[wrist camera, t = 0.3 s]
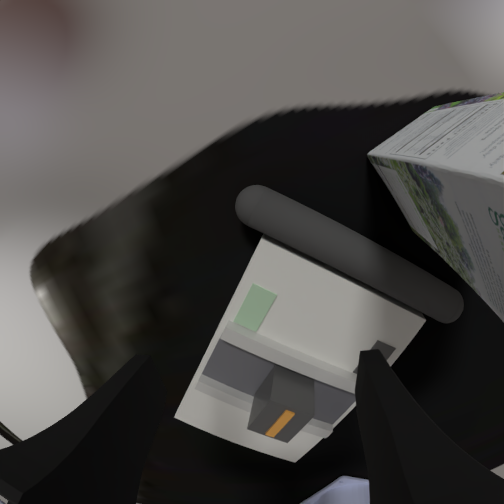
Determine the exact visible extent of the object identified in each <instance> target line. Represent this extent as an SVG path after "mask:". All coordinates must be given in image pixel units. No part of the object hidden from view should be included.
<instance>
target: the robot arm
mask: <svg viewBox="0 0 504 504" xmlns="http://www.w3.org/2000/svg"><path fill="white" fill-rule="evenodd" d="M166 395H167V390H166V388H165V386H164V384H163V382H162V380H161V378H160V376H159V374H158V371H157V369H156V367H155V365H154V363H153V360H152V358H151V356H150V355H135V356H134V357H133V358H131V359H130V360H129V361H128V362H127V363H126V364H125V365H124V366H123V367H122V368H121V369H120V370H118V371H117V372H116V373H115V374H114V375H113V376H112V377H111V378H110V379H109V380H108V381H107V382H106V383H105V384H104V385H102V386H101V387H100V388H99V389H98V390H97V391H96V392H95V393H94V394H92V395H91V396H90V397H89V398H88V399H87V400H85V401H84V402H83V403H82V404H81V405H79V406H78V407H77V408H76V409H75V410H74V411H72V412H71V413H70V414H68V415H67V416H65V417H64V418H62V419H61V420H59V421H58V422H57V423H55V424H53V425H52V426H50V427H48V428H47V429H45V430H43V431H41V432H40V433H38V434H36V435H34V436H33V437H31V438H28V439H27V440H24V441H22V442H20V443H17V444H15V445H12V446H10V447H7V448H4V449H1V450H0V495H1V496H3V497H4V498H5V499H7V500H8V503H7V504H136V500H137V494H138V489H139V484H140V479H141V475H142V471H143V467H144V464H145V461H146V458H147V455H148V453H149V450H150V447H151V445H152V442H153V439H154V436H155V434H156V431H157V428H158V425H159V423H160V420H161V417H162V414H163V409H164V405H165V400H166ZM355 399H356V410H357V418H358V423H359V428H360V433H361V438H362V443H363V448H364V453H365V459H366V464H367V470H368V478H369V480H367V479H361V478H355V477H350V476H341V477H339V478H338V479H336V480H335V481H334V482H332V483H331V484H329V485H328V486H326V487H325V488H323V489H322V490H320V491H319V492H317V493H316V494H314V495H312V496H311V497H309V498H308V499H306V500H304V501H303V502H301V503H300V504H504V479H503V478H501V477H499V476H498V475H496V474H495V473H493V472H492V471H490V470H489V469H487V468H486V467H484V466H483V465H481V464H480V463H479V462H478V461H476V460H475V459H474V458H472V457H471V456H470V455H469V454H467V453H466V452H465V451H464V450H462V449H461V448H460V447H459V446H458V445H457V444H455V443H454V442H453V441H452V440H451V439H450V438H449V437H448V436H447V435H446V434H445V433H444V432H443V431H442V430H441V429H440V428H439V427H438V426H437V425H436V424H435V423H434V422H433V421H432V420H431V418H430V417H429V416H428V415H427V414H426V413H425V412H424V410H423V409H422V408H421V407H420V406H419V404H418V403H417V402H416V401H415V400H414V398H413V397H412V396H411V394H410V393H409V392H408V390H407V389H406V388H405V386H404V385H403V384H402V382H401V381H400V380H399V378H398V377H397V375H396V374H395V372H394V371H393V370H392V368H391V367H390V365H389V364H388V362H387V361H386V359H385V357H384V356H383V354H382V353H381V351H380V350H379V349H373V350H364V351H360V355H359V363H358V370H357V377H356V384H355ZM0 504H5V503H4V502H3V501H1V500H0Z"/></svg>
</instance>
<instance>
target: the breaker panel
mask: <svg viewBox="0 0 504 504" xmlns="http://www.w3.org/2000/svg"><path fill="white" fill-rule="evenodd" d="M425 321H426V319H425V317H424V316H423V314H422V313H421V312H420V311H418V310H416V309H414V308H412V307H410V306H408V305H407V304H405V303H403V302H401V301H399V300H397V299H395V298H393V297H391V296H389V295H387V294H385V293H383V292H381V291H379V290H377V289H375V288H373V287H371V286H369V285H367V284H365V283H363V282H361V281H359V280H357V279H355V278H353V277H351V276H349V275H347V274H345V273H343V272H341V271H339V270H337V269H335V268H333V267H331V266H329V265H327V264H325V263H323V262H321V261H319V260H317V259H315V258H313V257H311V256H309V255H307V254H305V253H303V252H301V251H299V250H297V249H295V248H293V247H291V246H289V245H287V244H284V243H282V242H280V241H278V240H276V239H274V238H272V237H270V236H268V235H266V234H264V233H263V235H262V237H261V240H260V242H259V244H258V246H257V248H256V250H255V252H254V254H253V256H252V258H251V260H250V262H249V264H248V266H247V268H246V270H245V272H244V275H243V277H242V279H241V281H240V283H239V285H238V287H237V289H236V291H235V293H234V295H233V297H232V299H231V301H230V303H229V305H228V307H227V310H226V312H225V314H224V316H223V318H222V320H221V322H220V324H219V326H218V328H217V330H216V332H215V334H214V336H213V338H212V340H211V342H210V344H209V346H208V349H207V351H206V353H205V355H204V357H203V359H202V361H201V363H200V365H199V367H198V369H197V371H196V373H195V375H194V377H193V379H192V381H191V383H190V385H189V387H188V389H187V392H186V394H185V396H184V398H183V400H182V402H181V404H180V406H179V408H178V410H177V412H176V414H175V418H177V419H179V420H181V421H184V422H186V423H188V424H190V425H192V426H195V427H197V428H199V429H202V430H204V431H206V432H209V433H211V434H214V435H216V436H219V437H221V438H224V439H226V440H229V441H231V442H234V443H237V444H239V445H242V446H245V447H248V448H251V449H254V450H256V451H259V452H262V453H266V454H269V455H272V456H275V457H278V458H282V459H285V460H288V461H292V462H296V461H297V460H299V459H300V458H301V457H302V456H303V455H304V454H306V453H307V452H308V451H309V450H310V449H311V448H312V447H314V446H315V445H316V444H317V443H318V442H319V441H320V440H321V439H322V438H327V437H328V436H329V435H330V434H331V433H332V432H333V428H334V427H335V426H336V425H337V424H338V423H339V422H340V421H341V420H342V419H343V418H344V417H345V416H346V415H347V414H348V413H349V412H350V411H351V410H352V409H353V408H354V407H355V406H356V399H355V384H356V377H357V370H358V363H359V355H360V351H364V350H373V349H379V350H380V351H381V353H382V354H383V356H384V357H385V359H386V361H387V362H388V364H389V365H390V367H391V365H392V364H393V363H394V362H395V361H396V359H397V358H398V357H399V356H400V354H401V353H402V352H403V351H404V349H405V348H406V347H407V345H408V344H409V343H410V342H411V340H412V339H413V338H414V336H415V335H416V334H417V332H418V331H419V330H420V328H421V327H422V326H423V324H424V323H425ZM275 364H277V365H279V366H282V367H284V368H287V369H289V370H292V371H294V372H296V373H299V374H301V375H304V376H307V377H309V378H312V379H314V417H313V418H312V419H311V420H310V421H309V422H308V423H307V424H306V425H305V426H304V427H303V428H302V429H301V430H300V431H299V432H298V433H297V434H296V435H295V436H294V437H293V438H292V439H291V440H290V441H289V442H288V443H286V442H282V441H279V440H276V439H273V438H270V437H267V436H265V435H262V434H259V433H256V432H253V431H251V430H248V429H247V426H248V422H249V417H250V413H251V408H252V403H253V399H254V394H255V393H256V391H257V390H258V388H259V387H260V386H261V384H262V383H263V381H264V380H265V378H266V377H267V376H268V374H269V373H270V371H271V370H272V368H273V367H274V365H275Z"/></svg>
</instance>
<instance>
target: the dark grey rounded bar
mask: <svg viewBox="0 0 504 504" xmlns="http://www.w3.org/2000/svg"><path fill="white" fill-rule="evenodd" d="M235 209H236V213H237V216H238V218H239V219H240V220H241V221H242V222H243V223H244V224H246V225H247V226H249V227H251V228H253V229H255V230H258V231H260V232H262V233H264V234H266V235H268V236H270V237H272V238H274V239H276V240H278V241H280V242H282V243H284V244H287V245H289V246H291V247H293V248H295V249H297V250H299V251H301V252H303V253H305V254H307V255H309V256H311V257H313V258H315V259H317V260H319V261H321V262H323V263H325V264H327V265H329V266H331V267H333V268H335V269H337V270H339V271H341V272H343V273H345V274H347V275H349V276H351V277H353V278H355V279H357V280H359V281H361V282H363V283H365V284H367V285H369V286H371V287H373V288H375V289H377V290H379V291H381V292H383V293H385V294H387V295H389V296H391V297H393V298H395V299H397V300H399V301H401V302H403V303H405V304H407V305H408V306H410V307H412V308H414V309H416V310H418V311H420V312H422V313H424V314H426V315H428V316H430V317H432V318H434V319H435V320H437V321H439V322H442V323H451V322H453V321H455V320H457V319H458V318H459V316H460V315H461V313H462V311H463V307H464V303H463V298H462V296H461V294H460V293H459V292H458V291H457V290H456V289H454V288H453V287H451V286H450V285H448V284H446V283H445V282H443V281H441V280H440V279H438V278H436V277H435V276H433V275H431V274H430V273H428V272H426V271H425V270H423V269H421V268H419V267H418V266H416V265H414V264H413V263H411V262H409V261H407V260H406V259H404V258H402V257H400V256H399V255H397V254H395V253H393V252H391V251H390V250H388V249H386V248H384V247H382V246H381V245H379V244H377V243H375V242H373V241H372V240H370V239H368V238H366V237H364V236H362V235H360V234H359V233H357V232H355V231H353V230H351V229H349V228H347V227H345V226H343V225H342V224H340V223H338V222H336V221H334V220H332V219H330V218H328V217H326V216H324V215H322V214H320V213H318V212H316V211H314V210H312V209H310V208H308V207H306V206H304V205H302V204H300V203H298V202H296V201H294V200H292V199H290V198H288V197H286V196H284V195H282V194H280V193H278V192H276V191H274V190H271V189H269V188H267V187H265V186H261V185H253V186H249V187H247V188H245V189H244V190H242V191H241V193H240V194H239V195H238V197H237V199H236V204H235Z"/></svg>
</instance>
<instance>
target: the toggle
mask: <svg viewBox="0 0 504 504" xmlns="http://www.w3.org/2000/svg"><path fill="white" fill-rule="evenodd" d="M313 417H314V379H312V378H309V377H307V376H304V375H301V374H299V373H296V372H294V371H292V370H289V369H287V368H284V367H282V366H279V365H277V364H275V365H274V367H273V368H272V370H271V371H270V373H269V374H268V376H267V377H266V378H265V380H264V381H263V383H262V384H261V386H260V387H259V388H258V390H257V391H256V393H255V394H254V399H253V403H252V408H251V413H250V417H249V422H248V426H247V429H248V430H251V431H253V432H256V433H259V434H262V435H265V436H267V437H270V438H273V439H276V440H279V441H282V442H286V443H288V442H289V441H290V440H291V439H292V438H293V437H294V436H295V435H296V434H297V433H298V432H299V431H300V430H301V429H302V428H303V427H304V426H305V425H306V424H307V423H308V422H309V421H310V420H311V419H312V418H313Z"/></svg>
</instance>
